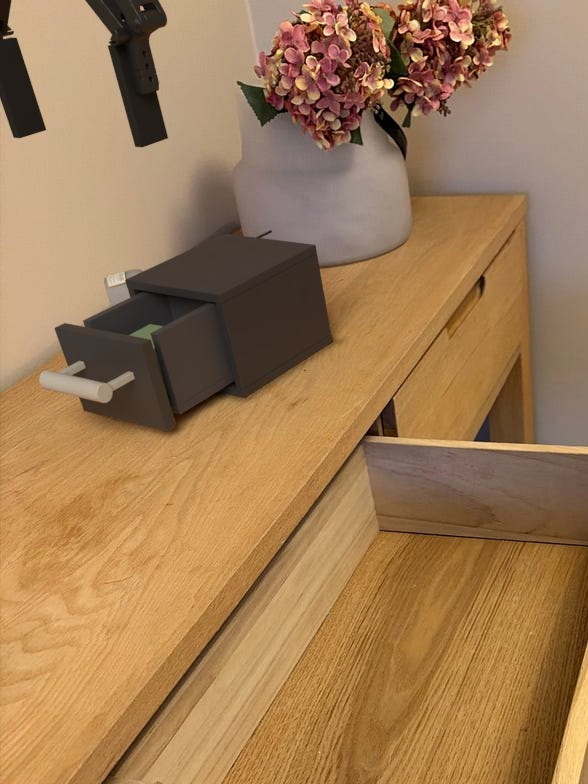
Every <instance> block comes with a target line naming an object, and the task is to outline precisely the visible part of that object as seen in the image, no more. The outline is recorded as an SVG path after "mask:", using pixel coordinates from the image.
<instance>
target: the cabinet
mask: <svg viewBox="0 0 588 784" xmlns="http://www.w3.org/2000/svg"><path fill="white" fill-rule="evenodd" d="M317 250H318V249H317V245H316V244H311V243H303V242H296V241H295V242H294V241H287V240H278V239H271V238H264V237H261V238H255V237H254V236H247V235H239V234H230V233H223V234H221V235H218V236H216V237H214V238H212V239H210V240H208V241H205V242H204V243H201V244H199V245H197V246H195V247H192V248H190V249H188V250H186V251H184V252H182V253H180V254H177V255H175V256H173V257H172V258H169V259H167V260H165V261H163V262H160V263H159V264H156V265H154V266H151V267H150V268H147V269H145V270H142V271H143V272H141V273H139V274H137V275H135V276H132V277H130V278H128V279H126V280H125V282H126V285H127V288H128V291H129V295H130V298H131V297H133V296H135V295H137V294H139V293H141V292H143V291H147V292H153V293H159V294H166V295H172V296H178V297H184V298H190V299H196V300H202V301H208V302H214V303H216V307H217V311H218V315H219V319H220V323H221V328H222V332H223V336H224V340H225V344H226V348H227V352H228V356H229V360H230V364H231V368H232V372H233V376H234V380H235V381H234V382H232V383H231V384H229V385H227V386H226V387H224V388H223V389H221V390H219V391H218V393H221V394H226V395H231V396H235V397H239V398H244V399H245V398H247V397H248V396H250V395H252V394H253V393H255V392H256V391H258V390H259V389H261V388H262V387H264V386H266V385H267V384H268V383H270V382H272V381H273V380H275V379H276V378H278V377H279V376H281V375H283V374H285V373H286V372H287V371H289V370H290V369H292V368H294V367H295V366H297V365H298V364H300V363H301V362H303V361H304V360H306V359H308V358H309V357H311V356H313V355H314V354H315V353H317V352H320V350H322V349H324V348H325V347H327V346H328V345H330V344H332V343H333V337H332V336H333V335H332V331H331V326H330V320H329V314H328V308H327V302H326V297H325V291H324V290H325V289H324V286H323V285H324V284H323V280H322V276H321V268H320V262H319V258H318V251H317Z"/></svg>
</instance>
